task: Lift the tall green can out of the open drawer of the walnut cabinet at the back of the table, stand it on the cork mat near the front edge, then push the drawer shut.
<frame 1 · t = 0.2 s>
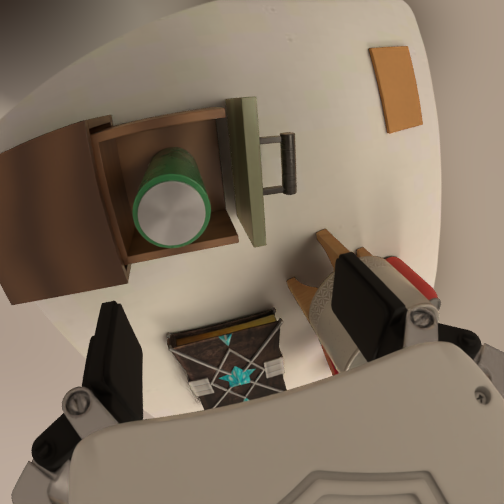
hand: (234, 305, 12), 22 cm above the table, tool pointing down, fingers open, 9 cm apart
planter: (326, 266, 42), on the table
drawer: (202, 172, 26), point 5 cm above the table, slide at 12.0 cm, touching green can
cabinet: (66, 193, 27), on the table
book: (233, 361, 47), on the table
mat: (397, 87, 30), on the table
beer can: (384, 270, 46), on the table
green can: (172, 171, 28), point 2 cm above the table, touching drawer
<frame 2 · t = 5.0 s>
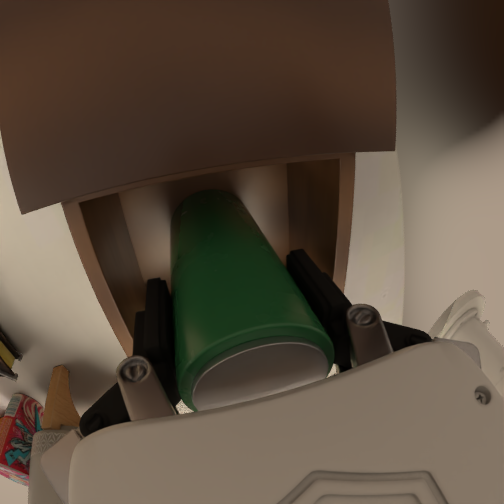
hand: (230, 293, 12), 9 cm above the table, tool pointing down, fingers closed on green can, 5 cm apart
planter: (94, 396, 27), on the table
drawer: (223, 289, 17), point 5 cm above the table, slide at 12.0 cm, touching green can
cabinet: (184, 30, 13), on the table
cup: (28, 401, 25), on the table
green can: (210, 228, 18), point 2 cm above the table, touching drawer, gripper
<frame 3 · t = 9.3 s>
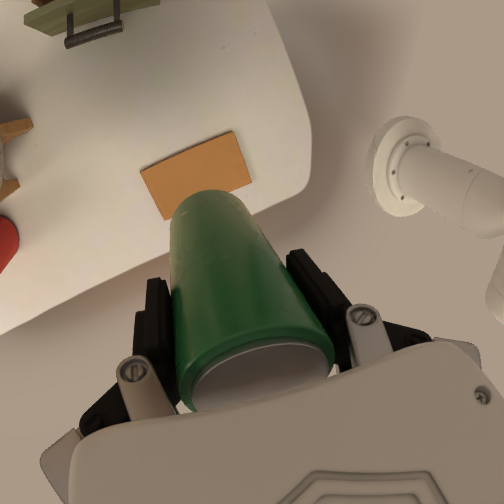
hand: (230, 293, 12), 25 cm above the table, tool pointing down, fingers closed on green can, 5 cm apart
mat: (196, 175, 34), on the table
beer can: (4, 235, 30), on the table
green can: (210, 228, 18), point 18 cm above the table, touching gripper
when the fingers open (7 cm above the table, at t = 13.6 s): green can stays where it is, resting on mat.
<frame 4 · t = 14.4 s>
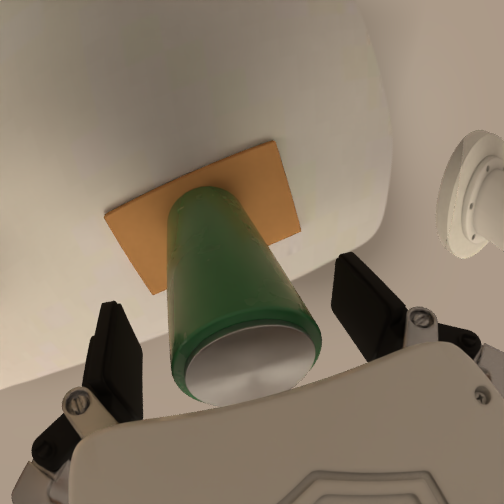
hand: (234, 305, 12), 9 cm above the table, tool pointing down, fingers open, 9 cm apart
mat: (206, 220, 19), on the table
green can: (206, 223, 19), point 1 cm above the table, touching mat
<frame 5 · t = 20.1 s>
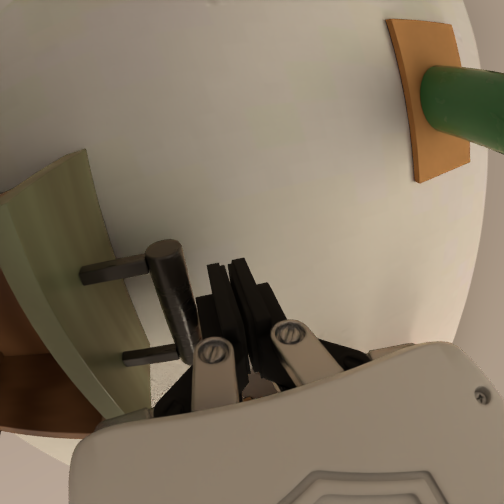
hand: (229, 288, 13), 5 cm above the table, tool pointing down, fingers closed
drawer: (32, 320, 11), point 5 cm above the table, slide at 11.7 cm, touching gripper
mat: (436, 97, 15), on the table
green can: (442, 98, 15), point 1 cm above the table, touching mat
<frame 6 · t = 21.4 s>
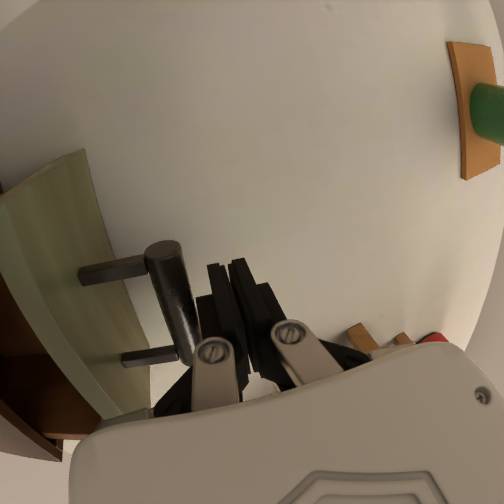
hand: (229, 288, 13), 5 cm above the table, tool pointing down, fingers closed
planter: (354, 361, 28), on the table
drawer: (31, 321, 11), point 5 cm above the table, slide at 5.3 cm, touching gripper
mat: (478, 108, 16), on the table
green can: (483, 110, 16), point 1 cm above the table, touching mat
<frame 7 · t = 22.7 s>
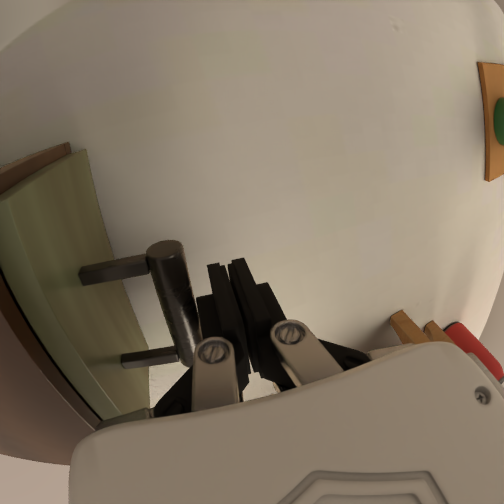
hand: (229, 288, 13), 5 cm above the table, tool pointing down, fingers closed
planter: (390, 348, 29), on the table
drawer: (30, 321, 11), point 5 cm above the table, slide at 0.0 cm, touching cabinet, gripper
cabinet: (13, 280, 14), on the table
mat: (499, 119, 18), on the table
beer can: (444, 337, 33), on the table
green can: (503, 121, 17), point 1 cm above the table, touching mat
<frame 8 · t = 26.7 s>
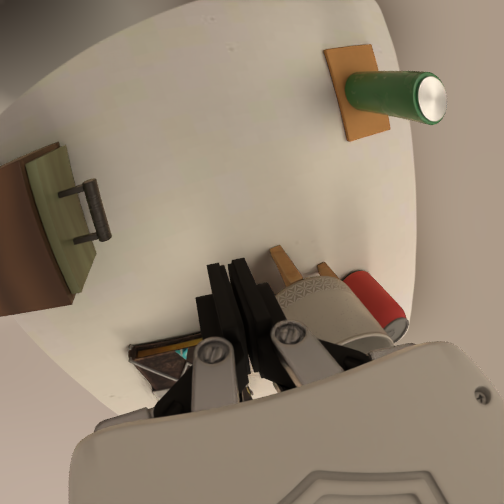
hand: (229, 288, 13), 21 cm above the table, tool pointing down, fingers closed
planter: (285, 282, 41), on the table
drawer: (34, 225, 23), point 5 cm above the table, slide at 0.0 cm, touching cabinet
cabinet: (26, 216, 27), on the table
book: (197, 372, 47), on the table
mat: (359, 90, 30), on the table
beer can: (352, 285, 46), on the table
green can: (361, 91, 29), point 1 cm above the table, touching mat
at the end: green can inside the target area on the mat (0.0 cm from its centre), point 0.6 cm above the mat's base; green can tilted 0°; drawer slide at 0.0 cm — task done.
